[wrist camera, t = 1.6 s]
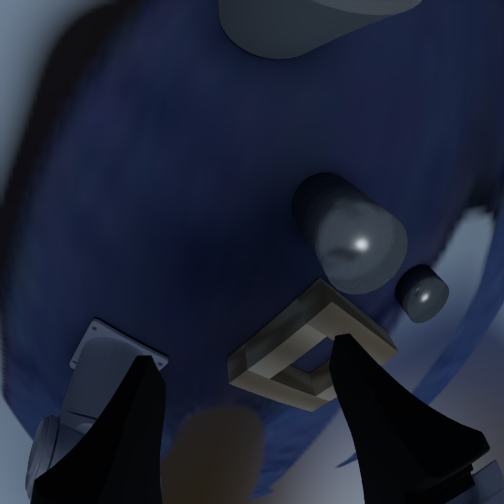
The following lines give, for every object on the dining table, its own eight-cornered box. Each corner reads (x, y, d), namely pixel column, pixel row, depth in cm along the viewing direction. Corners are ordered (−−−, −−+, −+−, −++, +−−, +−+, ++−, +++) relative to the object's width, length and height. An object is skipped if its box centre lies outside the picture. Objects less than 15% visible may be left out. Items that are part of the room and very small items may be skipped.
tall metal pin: (321, 245, 21) (359, 307, 14) (278, 207, 19) (305, 264, 13) (365, 201, 19) (420, 249, 13) (324, 158, 17) (377, 192, 11)
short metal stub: (406, 309, 25) (419, 329, 23) (386, 289, 24) (401, 310, 21) (437, 279, 24) (453, 297, 21) (421, 255, 22) (440, 273, 20)
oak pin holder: (306, 390, 30) (312, 411, 27) (227, 357, 26) (228, 383, 23) (386, 331, 26) (398, 352, 24) (319, 277, 22) (331, 301, 19)
